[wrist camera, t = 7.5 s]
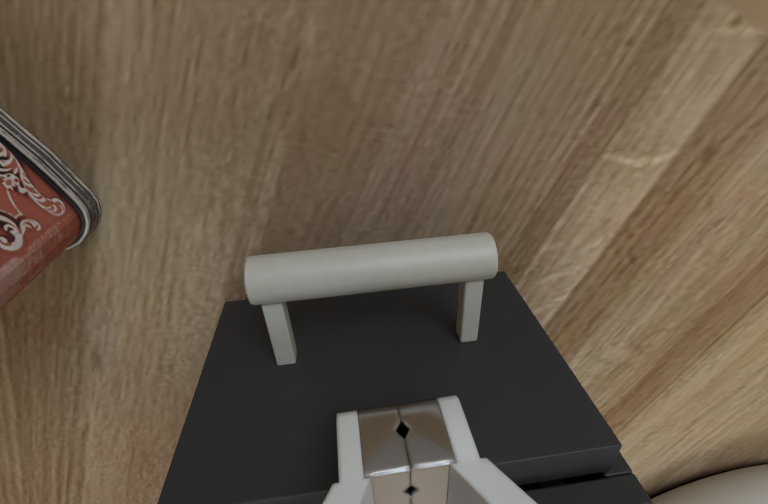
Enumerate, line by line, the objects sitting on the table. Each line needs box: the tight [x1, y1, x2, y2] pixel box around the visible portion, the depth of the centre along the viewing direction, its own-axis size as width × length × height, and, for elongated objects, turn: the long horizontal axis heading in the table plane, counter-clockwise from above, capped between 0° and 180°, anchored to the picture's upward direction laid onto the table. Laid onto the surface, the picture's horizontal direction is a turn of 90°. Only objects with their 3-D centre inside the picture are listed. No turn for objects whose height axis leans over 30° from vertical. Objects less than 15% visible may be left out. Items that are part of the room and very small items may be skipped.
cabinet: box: [524, 452, 653, 504], centre depth 17 cm, size 15×13×10 cm
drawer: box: [158, 232, 622, 504], centre depth 15 cm, size 17×11×8 cm, turn 2°
